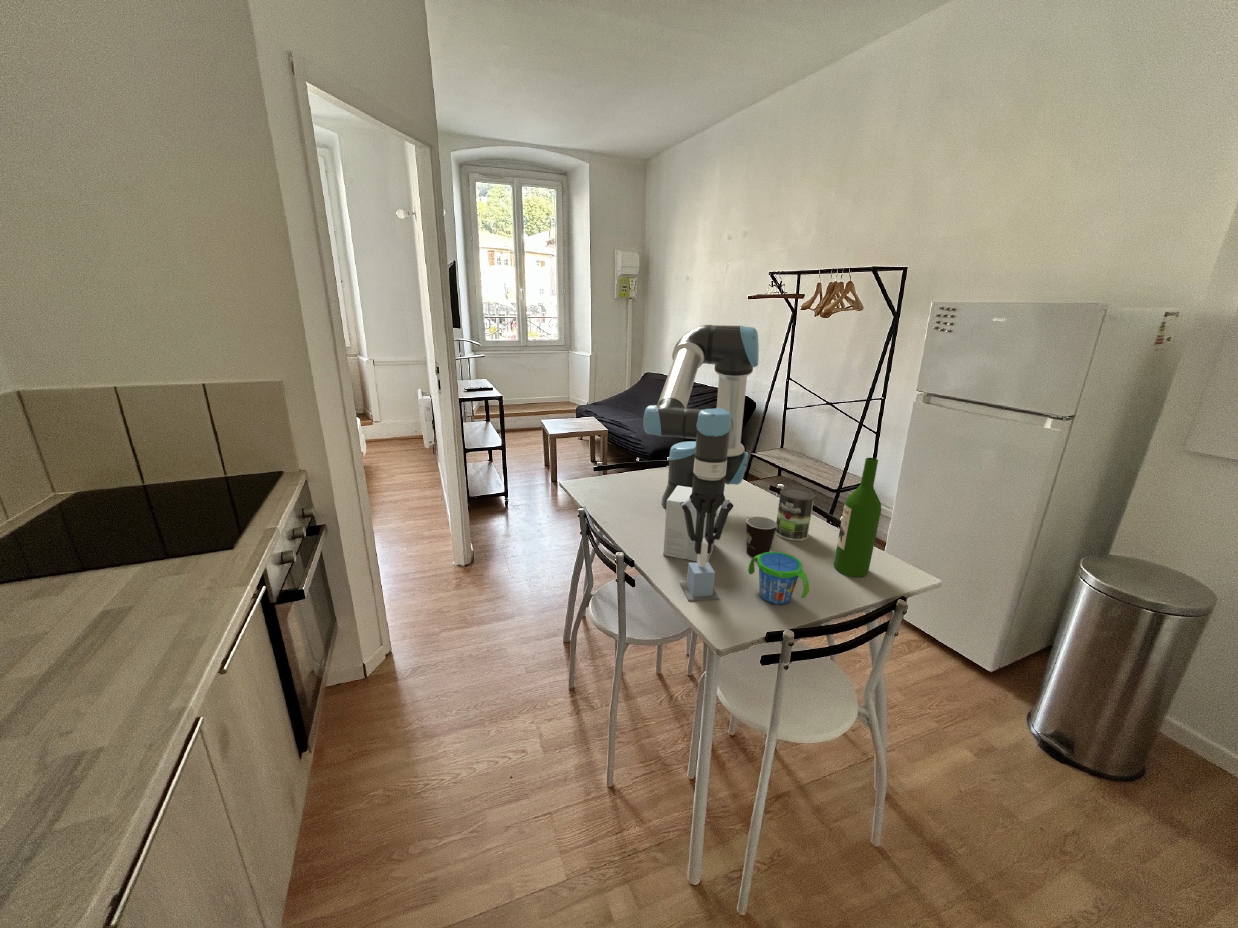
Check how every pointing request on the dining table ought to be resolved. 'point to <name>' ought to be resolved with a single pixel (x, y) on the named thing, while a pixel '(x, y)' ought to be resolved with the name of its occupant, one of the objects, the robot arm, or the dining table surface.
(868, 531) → the wine bottle
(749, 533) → the coffee mug
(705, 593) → the light blue block
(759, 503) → the dining table surface
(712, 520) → the robot arm
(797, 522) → the coffee can
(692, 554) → the supplement box
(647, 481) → the dining table surface
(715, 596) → the grey square base
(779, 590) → the snack cup
